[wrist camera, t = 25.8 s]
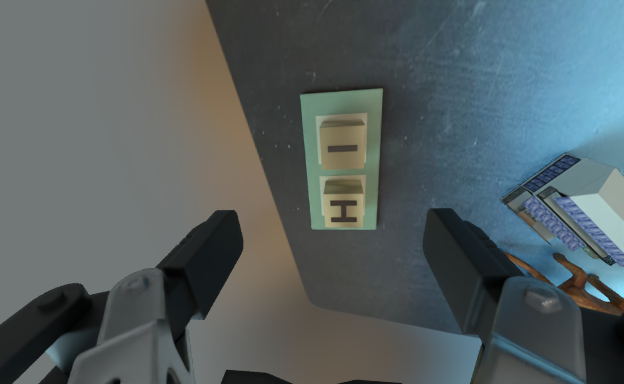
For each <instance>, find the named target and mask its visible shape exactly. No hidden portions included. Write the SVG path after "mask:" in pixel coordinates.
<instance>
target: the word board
mask: <svg viewBox="0 0 624 384" xmlns="http://www.w3.org/2000/svg"><path fill="white" fill-rule="evenodd" d="M382 98H383V89H382V88H377V89H363V90H350V91H337V92H323V93H310V94H301V95H300V99H301V111H302V122H303V134H304V145H305V156H306V168H307V179H308V191H309V202H310V214H311V225H312V229H373V230H375V229H376V220H377V200H378V179H379V159H380V138H381V118H382ZM355 119H362V120H363V122H364V124H365V161H364V169H335V170H322V163H321V146H320V130H319V128H320V126H321V123H322V122H323V121H339V120H355ZM344 180H361V183H362V188H363V193H364V205H363V227H325V214H324V197H323V193H324V187H325V181H344Z"/></svg>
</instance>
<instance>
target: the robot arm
mask: <svg viewBox="0 0 624 384" xmlns="http://www.w3.org/2000/svg"><path fill="white" fill-rule="evenodd" d="M242 251H243V237H242V232H241V228H240V224H239V220H238V216H237V213H236V212H235V211H234V210H217V211H215V212H214V213H213V214H212V215H211V216H210V218H209V219H208V220H207V221H206V222H203V223H201V224H200V225H198V226H197V227H195V228H193V229H192V230H191V231H190V232H189V234H188V235H187V236H186V238H184V239H183V240H182V241H181V242H180V243H179V245H177V246H176V247H175V248H174V249H173V250H172V251H171V252H170V253H169V254H168V255H167V256H166V257H165V258H164V259H163V260H162V261H161V262H160V263H159V264H158V265H157V266H156V267H155V268H148V269H143V270H140V271H137V272H134V273H132V274H130V275H128V276H127V277H125V278H124V279H122V280H121V281H119V282H118V283H117V284H116V285H115V286H114V287H113V288H112V289H111V291H107V292H102V293H97V294H92V295H89V294H88V293H87V291H86V289H85V288H84V287H83V285H82V284H79V283H72V284H67V285H63V286H60V287H57V288H55V289H52V290H50V291H48V292H46V293H44V294H42V295H40V296H39V297H37V298H36V299H34V300H33V301H31V302H30V303H28V304H27V305H26V306H25V307H23V308H22V309H20V310H19V311H18V312H16V313H15V314H14V315H12V316H11V317H10V318H9V319H7V320H6V321H5V322H3V323H2V324H1V325H0V384H12V383H13V382H14V381H15V380H17V379H18V378H19V377H20V376H21V375H22V374H23V373H24V372H25V371H26V370H27V369H28V368H29V367H30V366H31V365H32V364H33V363H34V362H35V361H36V360H37V359H38V358H39V357H40V356H41V355H42V354H43V353H44V352H45V353H46V354H47V355H48V356H49V357H50V358H51V359H52V360H53V362H54V363H55V364H56V366H55V367H54V368H53V369H52V370H51V372H49V373H48V374H47V375H46V377H45V378H44V379H43V380H42V381H41V382H40V383H39V384H196V383H195V376H194V369H193V361H192V354H191V346H190V338H189V332H188V329H187V324H188V323H189V321H190V320H191V319H199V320H204V319H205V318H206V315H207V314H208V312H209V311H210V308H211V307H212V305H213V303H214V302H215V300H216V298H217V296H218V295H219V293H220V291H221V289H222V287H223V286H224V284H225V282H226V280H227V279H228V277H229V275H230V273H231V271H232V270H233V268H234V266H235V264H236V262H237V261H238V259H239V257H240V255H241V253H242ZM423 251H424V255H425V257H426V260H427V262H428V264H429V266H430V268H431V270H432V272H433V274H434V276H435V278H436V280H437V282H438V284H439V286H440V288H441V290H442V292H443V294H444V296H445V298H446V300H447V302H448V304H449V307H450V309H451V311H452V313H453V315H454V317H455V319H456V321H457V323H458V325H459V327H460V329H461V331H462V333H463V334H475V335H479V337H480V339H481V341H482V345H481V348H480V351H479V354H478V358H477V362H476V365H475V368H474V372H473V375H472V378H471V382H470V384H624V312H623V313H622V315H621V316H617V315H613V314H609V313H605V312H601V311H596V310H592V309H588V308H584V307H580V306H578V305H577V303H576V302H575V301H574V300H573V299H572V298H571V297H570V296H568V295H567V294H566V293H565V292H563V291H562V290H560V289H558V288H557V287H555V286H553V285H551V284H549V283H546V282H544V281H541V280H538V279H535V278H531V277H526V276H525V275H524V274H523V273H522V272H521V270H520V269H519V268H518V267H517V266H516V265H515V264H514V263H513V262H512V261H511V260H510V259H509V258H508V257H507V256H506V255H505V254H504V253H503V252H502V251H501V250H500V248H497V245H496V244H495V243H494V242H493V241H492V240H490V239H489V237H488V236H487V235H486V234H485V233H484V232H483V231H482V230H481V229H480V228H479V227H477V226H475V225H473V224H472V223H470V222H468V221H463V220H462V219H461V218H460V217H459V216H458V215H457V214H456V213H455V211H454V210H453V209H451V208H431V209H429V210H428V213H427V219H426V225H425V231H424V238H423ZM221 384H292V383H290V382H287V381H285V380H282V379H280V378H278V377H275V376H273V375H271V374H268V373H261V372H249V371H236V370H226V372H225V374H224V377H223V380H222V382H221ZM339 384H402V383H392V382H379V381H366V380H352V381H348V382H344V383H339Z"/></svg>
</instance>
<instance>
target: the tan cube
mask: <svg viewBox="0 0 624 384" xmlns="http://www.w3.org/2000/svg"><path fill="white" fill-rule="evenodd" d="M319 130H320V146H321V163H322V170H335V169H364V161H365V124H364V122H363V120H362V119H355V120H339V121H323V122H322V123H321V126H320V128H319Z"/></svg>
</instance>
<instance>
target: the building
mask: <svg viewBox="0 0 624 384" xmlns="http://www.w3.org/2000/svg"><path fill="white" fill-rule="evenodd" d="M500 200H501V201H502V202H503V203H504V204H506V205H507V206H508V207H509V208H510V209H511V210H512V211H513V212H514V213H515V214H516V215H517V216H518V217H520V218H521V219H522V220H523V221H524V222H525V223H526V224H527V225H528V226H529V227H530V228H531V229H532V230H534V231H535V232H536V233H537V234H538V235H539V236H540V237H541V238H542V239H543V240H544V241H545V242H548V241H549V240H551V239H553V238H554V237H556V236H557V237H558V238H559V239H560V240H561V241H562V242H563V243H564V244H565V245H566V246H567V247H568V248H569V249H570V250H571V251H574V250H576V249H577V248H579V247H581V246H582V245H584V246H585V247H586V248H585V247H584V248H583V247H582V248H583V250H585V251H586V252H587V253H588V255H589V256H591V257H592V258H593V259H601V260H602V261H604V262H605V263H607V262H608V263H607V264H608V265H613V264H615V263H618V264H619V265H620V266H621V267H624V177H623V176H622V174H621V173H620V172H619V171H618V170H617V169H616V168H615V167H612V166H609V165H606V164H603V163H600V162H597V161H594V160H590V159H589V158H586V157H585V158H584V159H579V158H576V157H573V156H570V155H568V154H567V153H564V154H563V155H562V156H560V157H559V158H557V159H556V160H555V161H553V162H552V163H550V164H549V165H548V166H546V167H545V168H543V169H542V170H541V171H539V172H538V173H536V174H535V175H534V176H532V177H531V178H529V179H528V180H527V181H525V182H524V183H523V184H521V185H520V186H518V187H517V188H516V189H514V190H513V191H511V192H510V193H509V194H507V195H506V196H504V197H503V198H502V199H500ZM548 243H549V242H548ZM549 244H550V243H549ZM550 245H551V244H550ZM608 256H609V257H610V262H609V259H608ZM611 257H612V264H611ZM606 258H607V260H606ZM604 259H605V260H604ZM615 261H616V262H615Z"/></svg>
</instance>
